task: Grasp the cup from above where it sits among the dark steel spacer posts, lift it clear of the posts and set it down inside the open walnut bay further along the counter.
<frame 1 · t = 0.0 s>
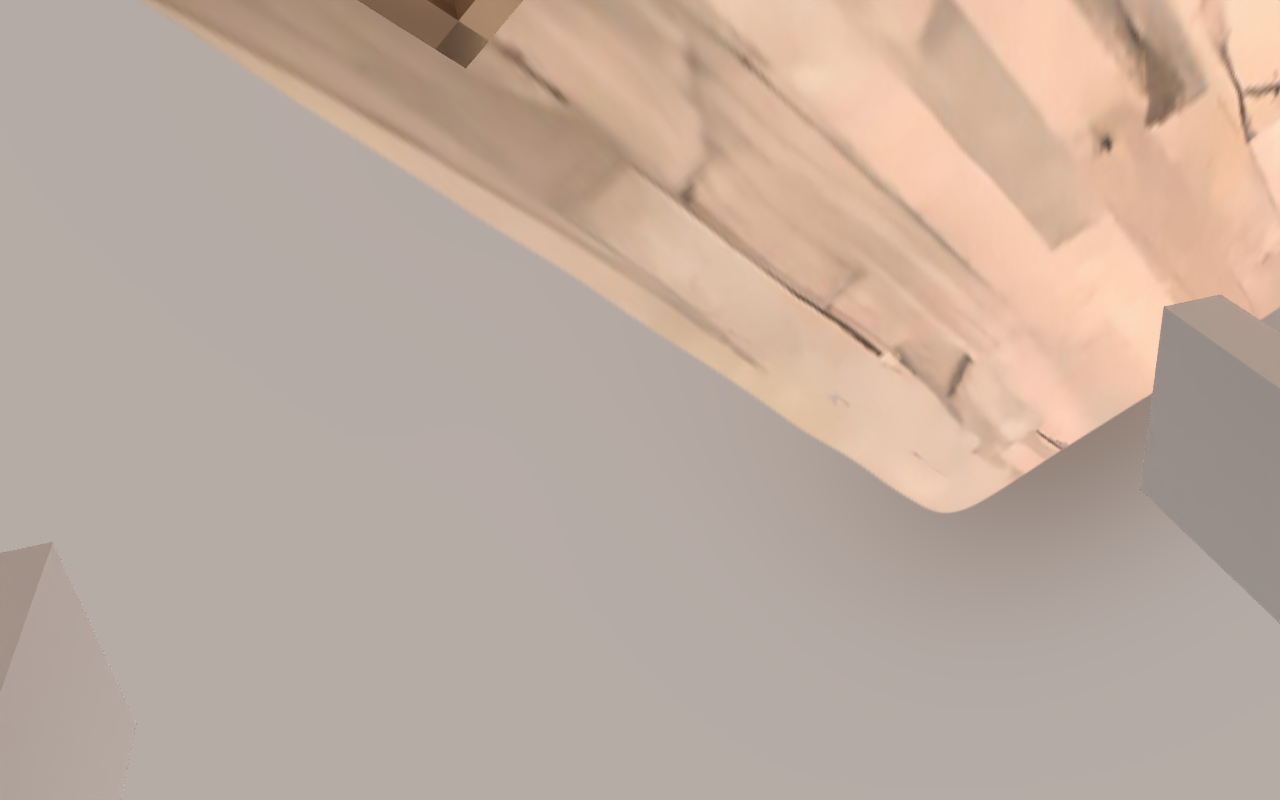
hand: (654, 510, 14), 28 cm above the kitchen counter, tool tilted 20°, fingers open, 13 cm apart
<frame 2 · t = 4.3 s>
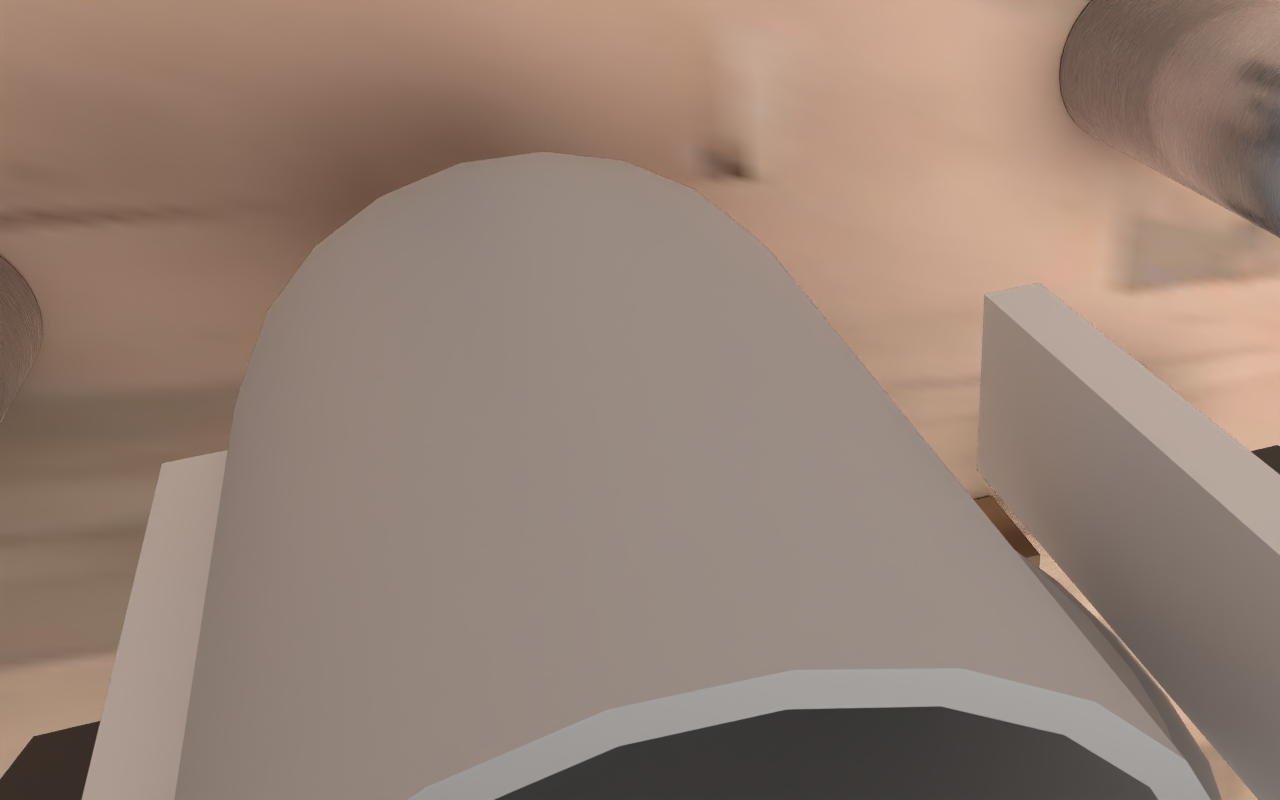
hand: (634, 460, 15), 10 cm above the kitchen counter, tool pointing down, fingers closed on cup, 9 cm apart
bay: (642, 739, 31), on the kitchen counter
cup: (632, 422, 16), point 9 cm above the kitchen counter, touching gripper
spacers: (560, 207, 24), on the kitchen counter
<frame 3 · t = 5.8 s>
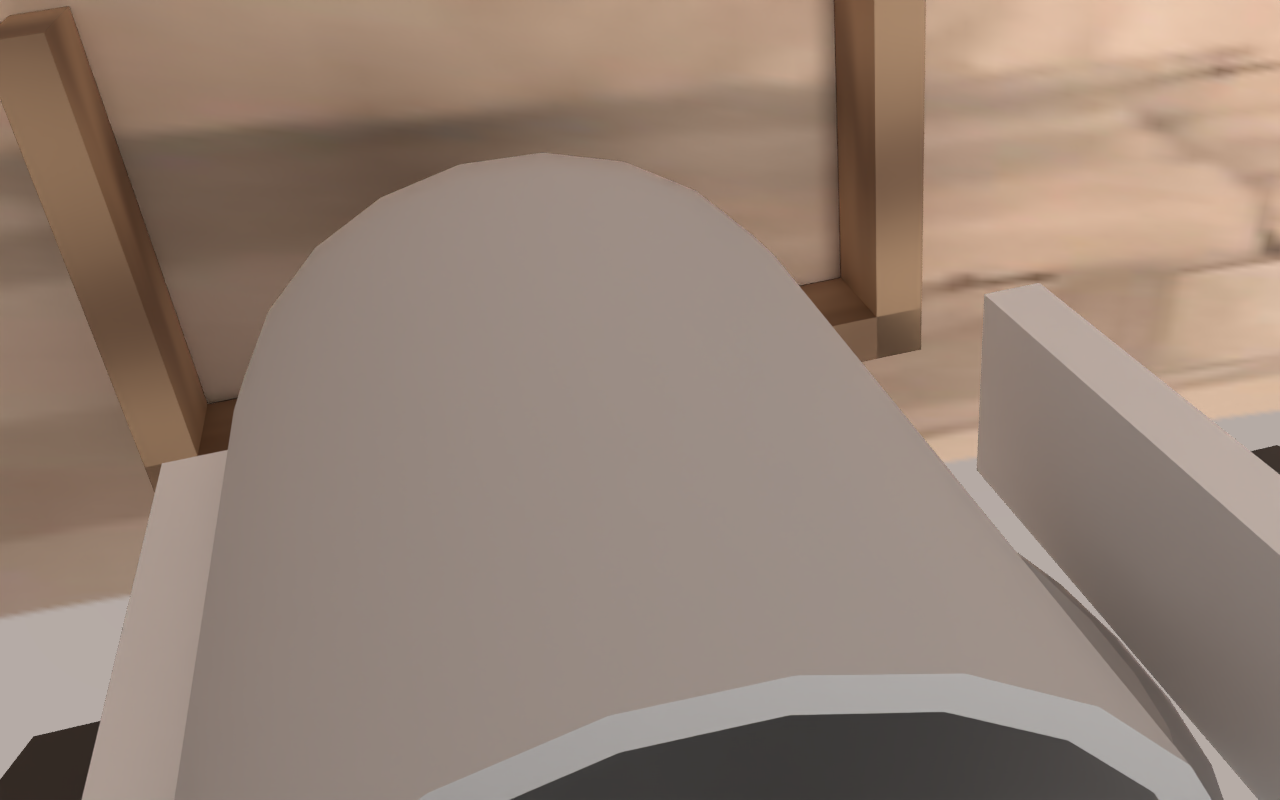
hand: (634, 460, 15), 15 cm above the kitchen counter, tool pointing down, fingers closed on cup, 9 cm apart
bay: (508, 183, 29), on the kitchen counter
cup: (632, 424, 16), point 14 cm above the kitchen counter, touching gripper
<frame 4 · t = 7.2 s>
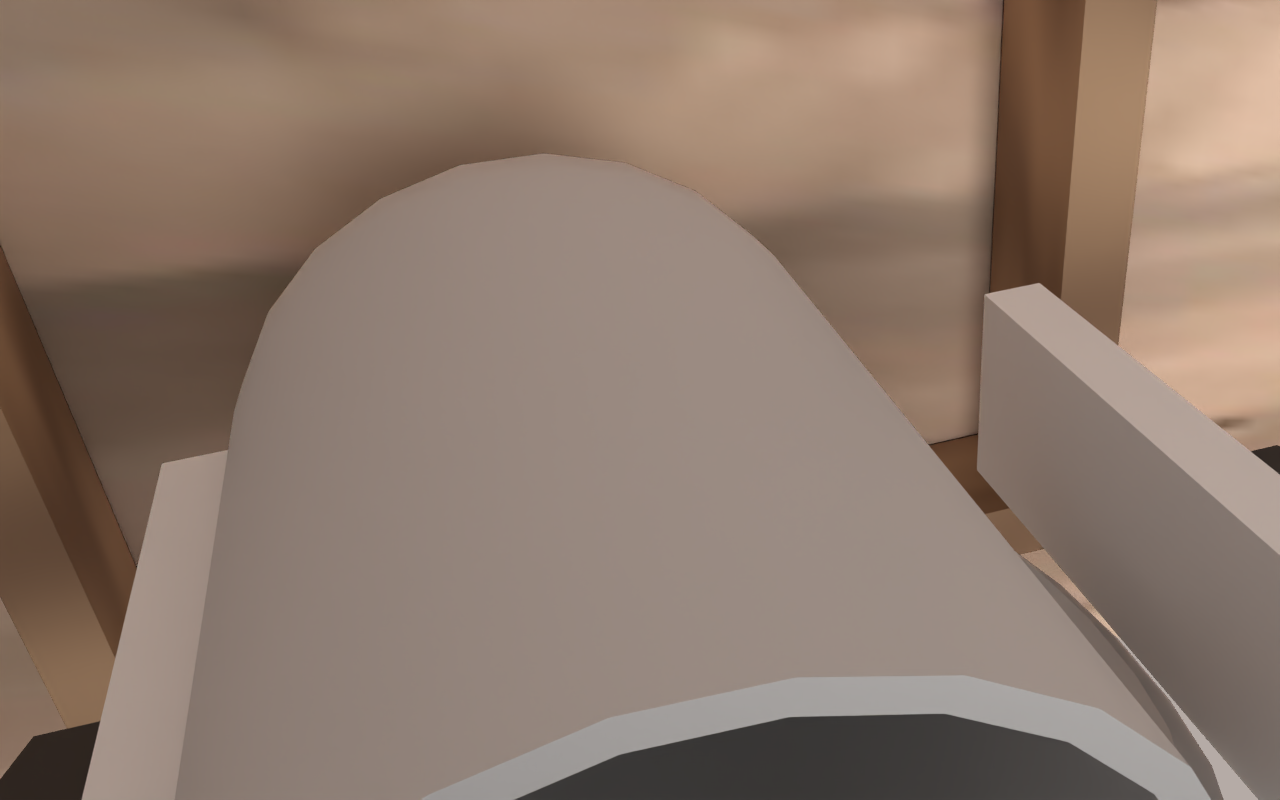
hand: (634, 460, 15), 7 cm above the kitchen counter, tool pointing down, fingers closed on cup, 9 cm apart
bay: (559, 331, 21), on the kitchen counter
cup: (633, 424, 16), point 6 cm above the kitchen counter, touching gripper
when the fingers open (3 cm above the kitchen counter, at t = 8.5 s): cup drops 2 cm, on the kitchen counter.
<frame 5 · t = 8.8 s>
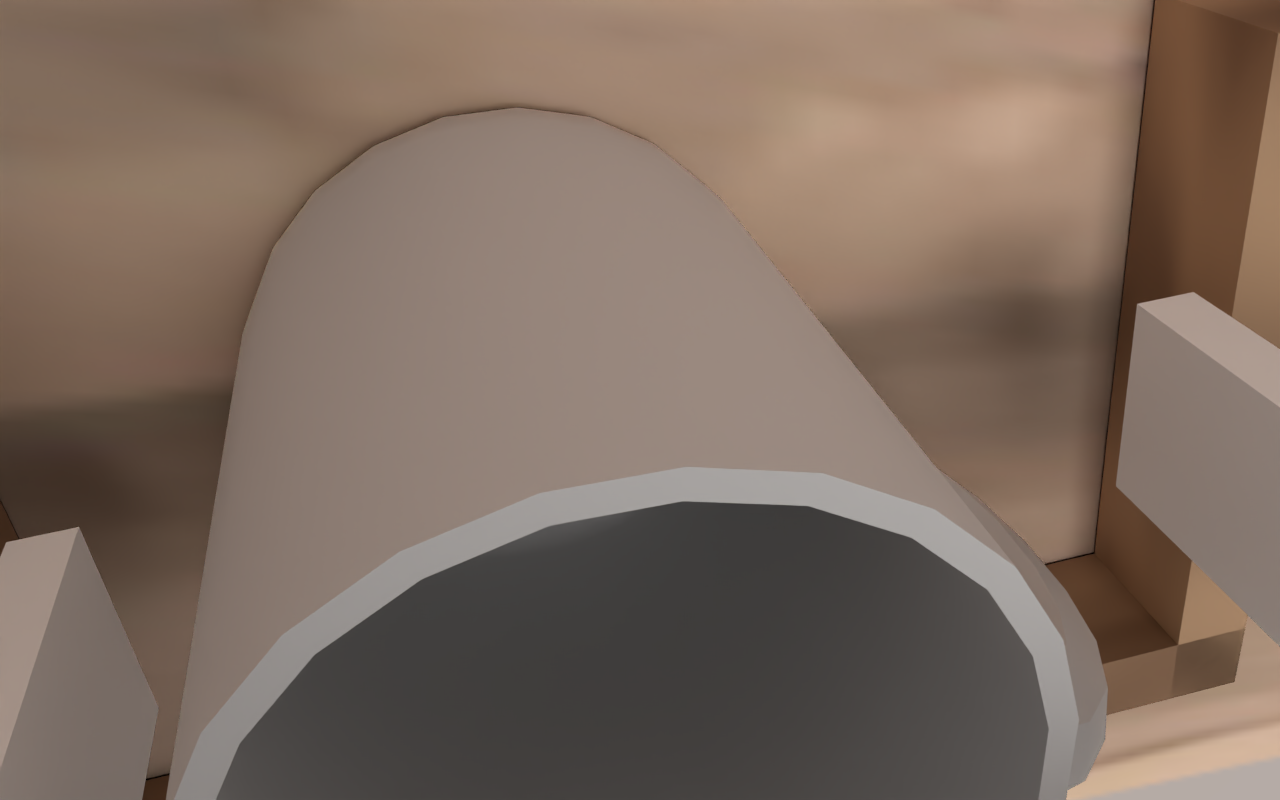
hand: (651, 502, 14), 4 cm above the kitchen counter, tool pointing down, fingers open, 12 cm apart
bay: (609, 453, 18), on the kitchen counter
cup: (601, 360, 17), on the kitchen counter
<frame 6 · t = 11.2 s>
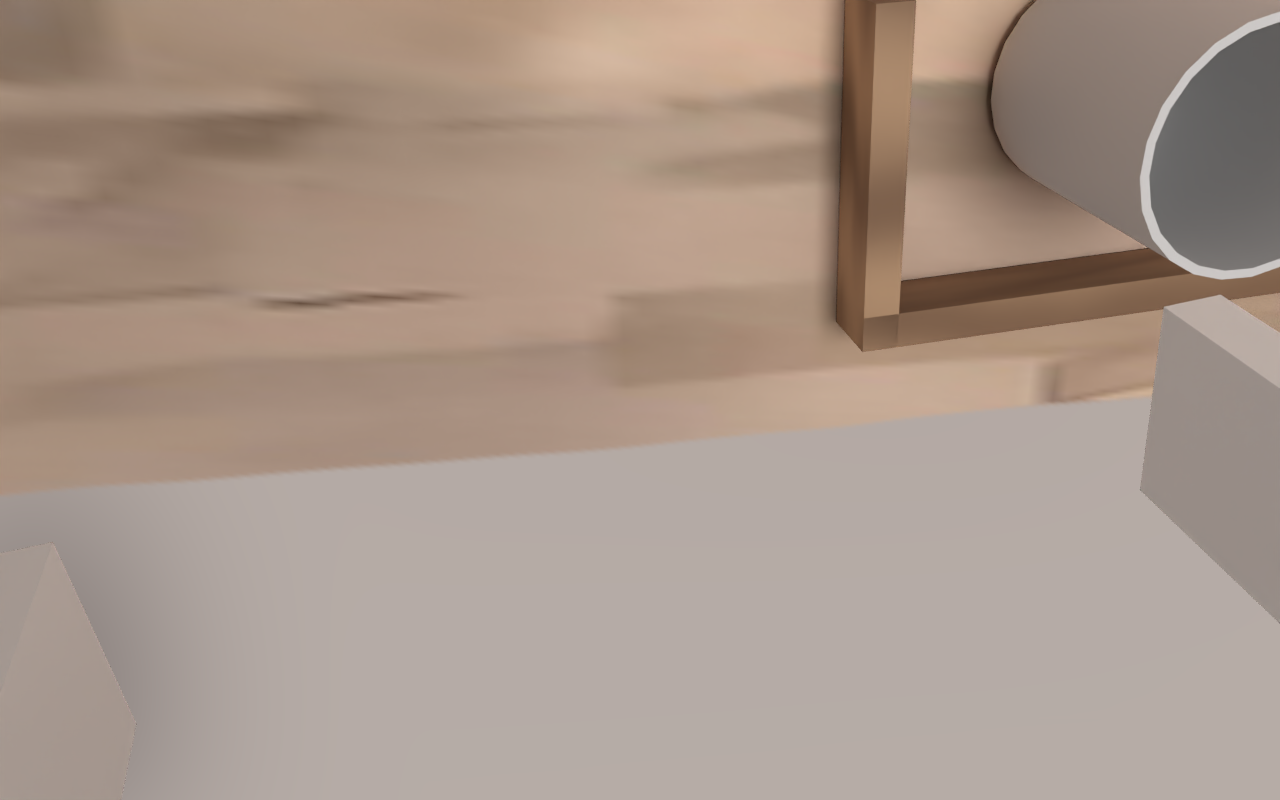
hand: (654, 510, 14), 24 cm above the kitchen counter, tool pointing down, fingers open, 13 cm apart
bay: (1111, 135, 40), on the kitchen counter
cup: (1116, 89, 40), on the kitchen counter
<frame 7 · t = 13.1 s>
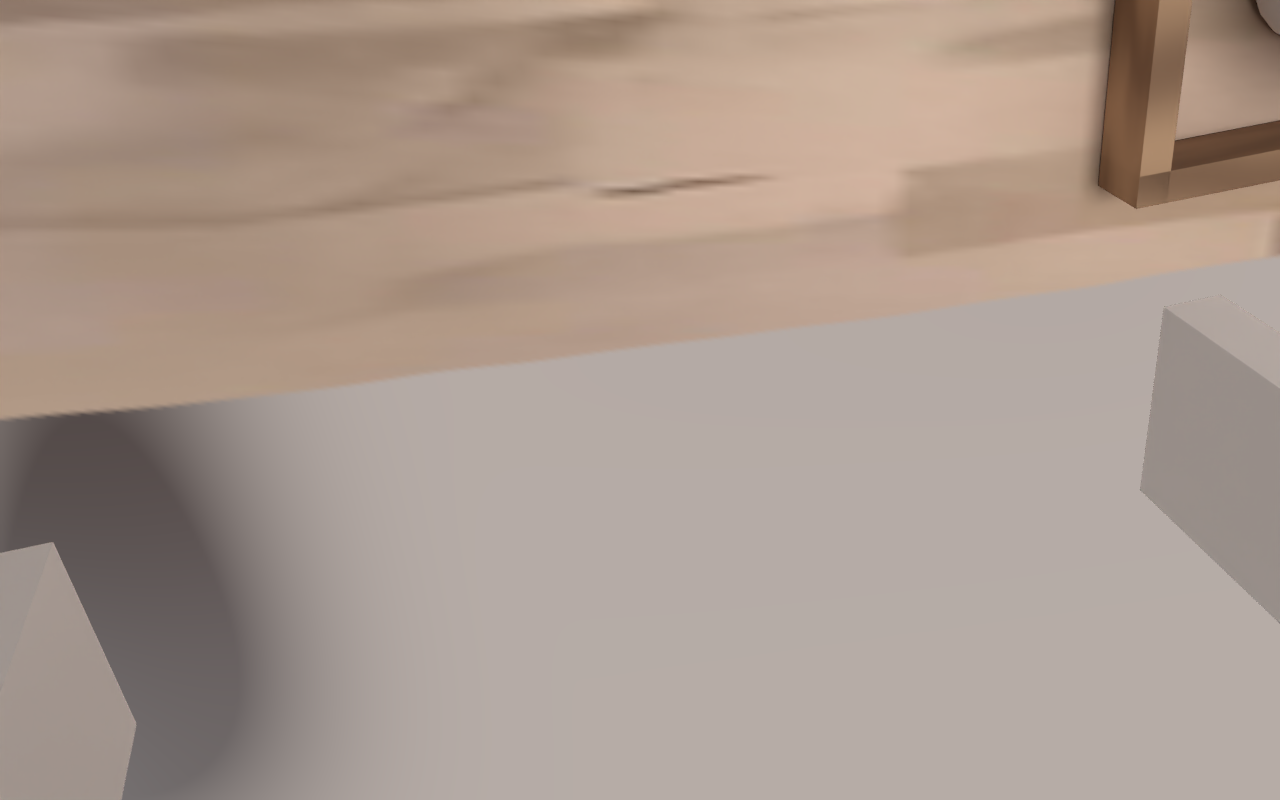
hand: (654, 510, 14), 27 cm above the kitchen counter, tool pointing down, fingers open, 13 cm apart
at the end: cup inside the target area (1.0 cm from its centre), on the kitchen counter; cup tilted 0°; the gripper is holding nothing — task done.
